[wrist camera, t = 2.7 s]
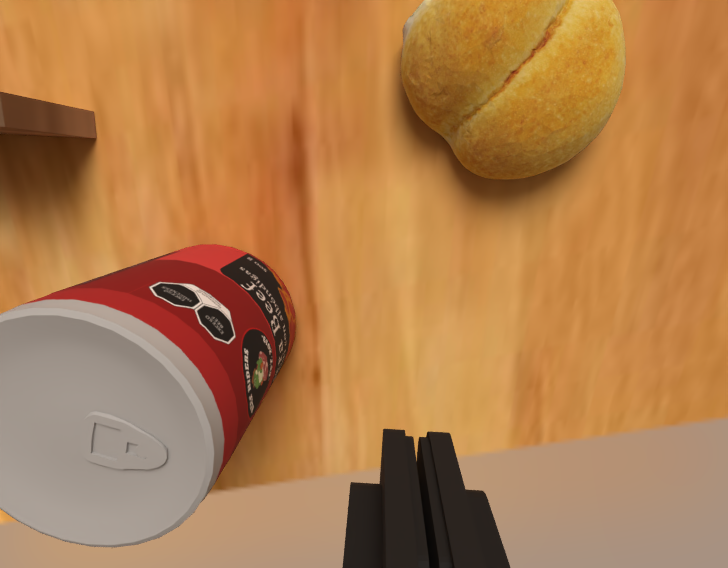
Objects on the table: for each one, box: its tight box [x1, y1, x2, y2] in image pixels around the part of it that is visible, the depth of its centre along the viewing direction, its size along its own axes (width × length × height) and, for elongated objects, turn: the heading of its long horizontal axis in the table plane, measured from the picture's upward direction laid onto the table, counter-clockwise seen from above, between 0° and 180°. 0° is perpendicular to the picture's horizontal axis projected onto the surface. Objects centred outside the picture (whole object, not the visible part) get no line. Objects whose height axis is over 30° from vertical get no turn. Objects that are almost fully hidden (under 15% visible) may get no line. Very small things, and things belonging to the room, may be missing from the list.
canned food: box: [0, 245, 296, 547], centre depth 17 cm, size 8×8×11 cm
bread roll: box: [401, 0, 626, 179], centre depth 17 cm, size 8×9×4 cm
